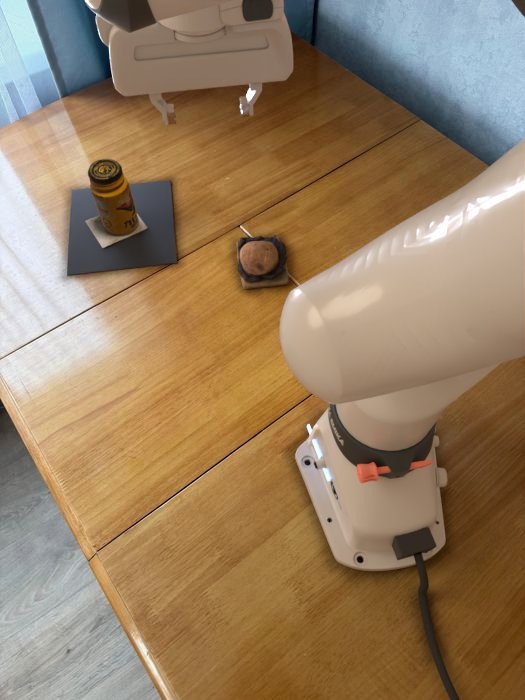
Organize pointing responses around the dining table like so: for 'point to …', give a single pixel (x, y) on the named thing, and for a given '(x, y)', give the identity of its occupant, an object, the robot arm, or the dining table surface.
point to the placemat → (131, 251)
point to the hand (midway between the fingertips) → (208, 117)
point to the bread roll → (262, 262)
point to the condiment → (112, 204)
